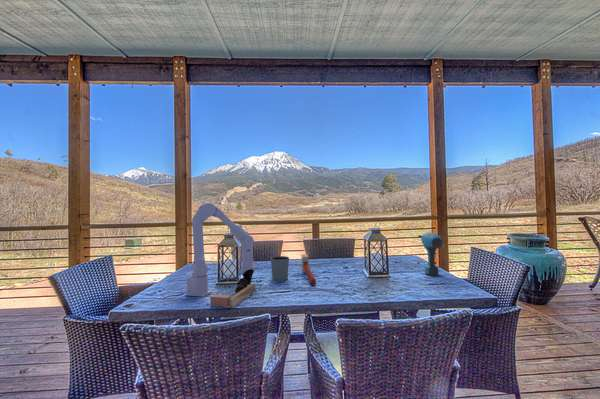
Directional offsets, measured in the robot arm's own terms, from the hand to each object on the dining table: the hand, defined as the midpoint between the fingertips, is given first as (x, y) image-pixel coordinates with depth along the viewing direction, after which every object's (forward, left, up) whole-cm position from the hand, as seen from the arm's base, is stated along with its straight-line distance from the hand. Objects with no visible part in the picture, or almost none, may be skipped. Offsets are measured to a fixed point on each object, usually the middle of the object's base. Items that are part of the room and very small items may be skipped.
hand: (248, 284), depth 156 cm
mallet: (+27, +22, -2) cm, 34 cm away
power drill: (+92, +46, -1) cm, 103 cm away
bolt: (+1, -9, -2) cm, 10 cm away
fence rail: (+6, -17, -1) cm, 18 cm away
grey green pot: (+12, +16, -1) cm, 20 cm away
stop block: (0, -27, -1) cm, 27 cm away
